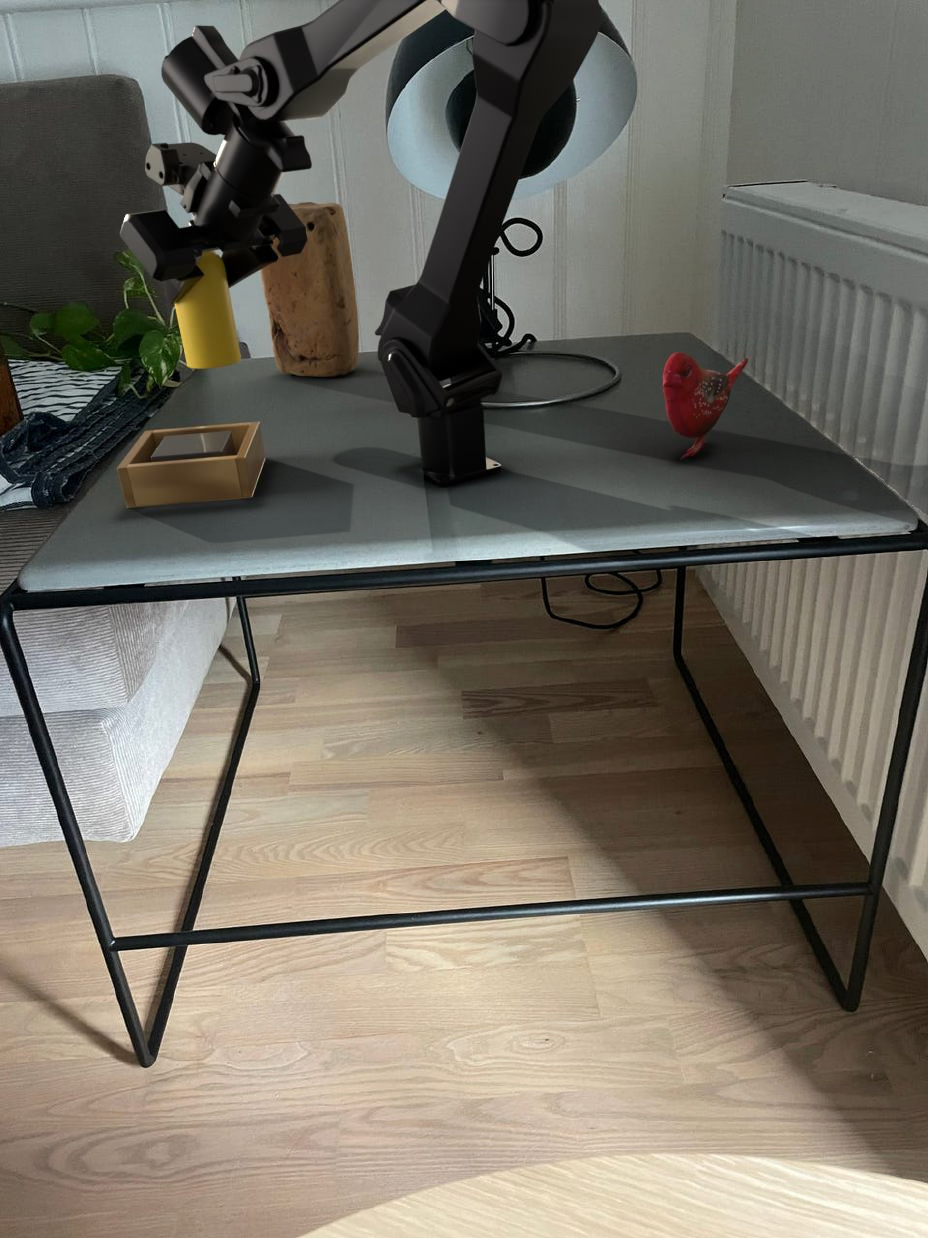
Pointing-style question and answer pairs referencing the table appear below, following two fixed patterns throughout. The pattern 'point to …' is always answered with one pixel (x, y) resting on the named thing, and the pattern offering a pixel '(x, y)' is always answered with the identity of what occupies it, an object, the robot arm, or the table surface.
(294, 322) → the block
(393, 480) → the table surface
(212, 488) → the crate
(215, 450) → the grey block
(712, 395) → the decorative bird figurine
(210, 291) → the lemon bottle
